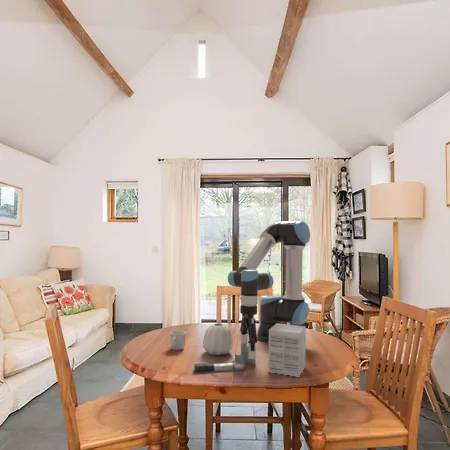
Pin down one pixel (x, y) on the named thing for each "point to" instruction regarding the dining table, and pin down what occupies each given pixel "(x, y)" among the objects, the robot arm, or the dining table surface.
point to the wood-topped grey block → (246, 354)
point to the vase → (217, 340)
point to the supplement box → (287, 349)
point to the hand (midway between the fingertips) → (247, 353)
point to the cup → (177, 339)
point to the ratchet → (221, 365)
